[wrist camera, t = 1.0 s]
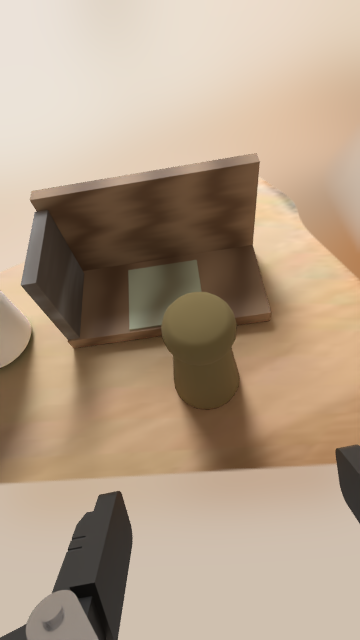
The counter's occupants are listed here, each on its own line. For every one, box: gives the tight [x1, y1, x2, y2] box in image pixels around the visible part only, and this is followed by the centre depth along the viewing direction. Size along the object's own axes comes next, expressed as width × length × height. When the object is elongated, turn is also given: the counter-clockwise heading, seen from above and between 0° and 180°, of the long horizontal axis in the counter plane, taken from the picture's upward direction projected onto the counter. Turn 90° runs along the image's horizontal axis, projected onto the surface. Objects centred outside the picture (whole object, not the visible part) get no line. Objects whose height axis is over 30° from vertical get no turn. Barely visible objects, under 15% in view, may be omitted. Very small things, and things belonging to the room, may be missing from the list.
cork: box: [161, 292, 239, 410], centre depth 27 cm, size 6×6×11 cm
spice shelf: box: [21, 153, 271, 348], centre depth 32 cm, size 20×10×12 cm, turn 96°
